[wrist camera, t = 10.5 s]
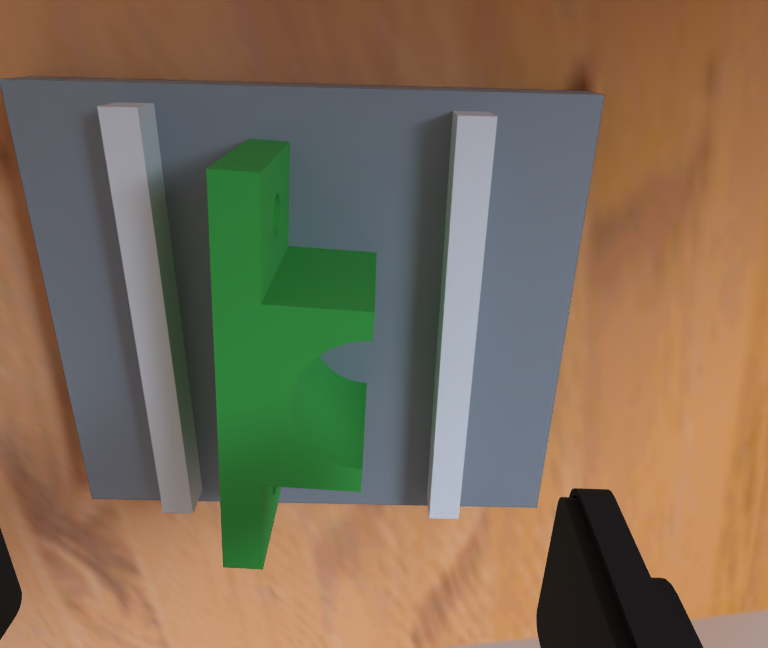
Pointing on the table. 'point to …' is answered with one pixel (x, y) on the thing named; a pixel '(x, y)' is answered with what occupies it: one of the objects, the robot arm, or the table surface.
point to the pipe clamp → (279, 349)
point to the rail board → (316, 230)
